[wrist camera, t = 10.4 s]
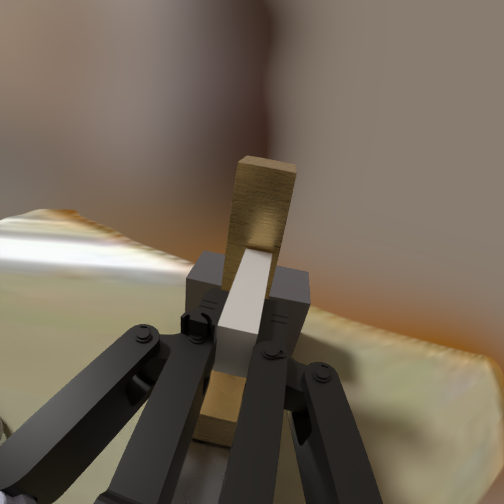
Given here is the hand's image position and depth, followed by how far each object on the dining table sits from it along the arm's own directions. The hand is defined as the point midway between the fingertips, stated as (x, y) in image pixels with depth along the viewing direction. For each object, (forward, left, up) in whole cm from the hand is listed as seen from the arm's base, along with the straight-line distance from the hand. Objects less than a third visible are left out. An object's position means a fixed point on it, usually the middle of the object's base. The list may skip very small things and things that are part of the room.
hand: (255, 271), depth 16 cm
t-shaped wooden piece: (0, +1, -10) cm, 10 cm away
